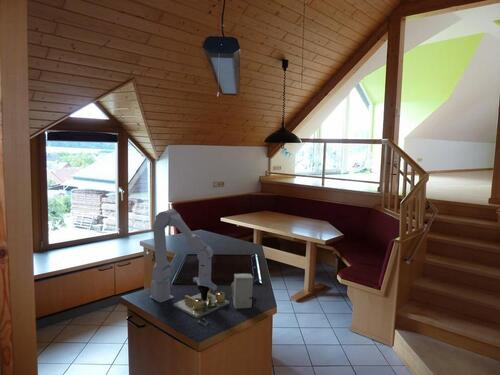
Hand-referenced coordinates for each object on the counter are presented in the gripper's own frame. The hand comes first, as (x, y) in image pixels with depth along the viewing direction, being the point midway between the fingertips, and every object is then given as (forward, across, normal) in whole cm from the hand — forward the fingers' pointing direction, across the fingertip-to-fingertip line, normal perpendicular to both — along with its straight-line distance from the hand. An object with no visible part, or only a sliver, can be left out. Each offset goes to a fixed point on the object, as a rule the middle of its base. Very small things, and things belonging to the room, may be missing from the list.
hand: (204, 300), depth 168 cm
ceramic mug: (+2, +7, +18) cm, 19 cm away
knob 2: (+1, -2, +4) cm, 4 cm away
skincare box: (+2, +14, +12) cm, 18 cm away
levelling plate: (+2, 0, -1) cm, 2 cm away
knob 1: (+1, 0, -6) cm, 6 cm away
